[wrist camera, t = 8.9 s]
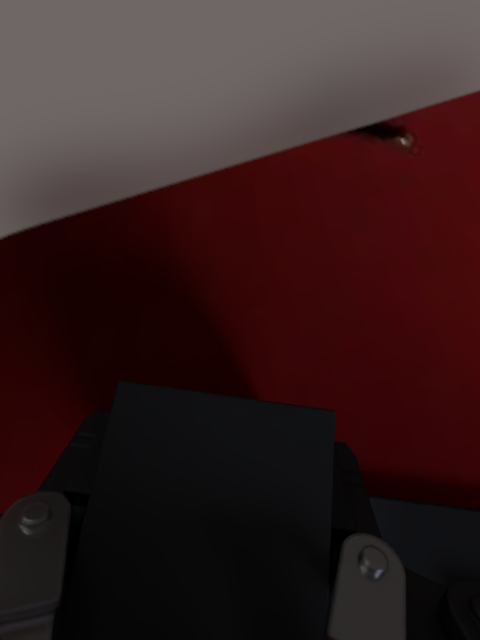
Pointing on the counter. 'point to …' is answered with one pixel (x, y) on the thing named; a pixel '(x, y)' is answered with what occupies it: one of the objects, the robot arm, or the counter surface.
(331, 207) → the counter surface
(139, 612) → the pad block
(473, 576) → the base pad
